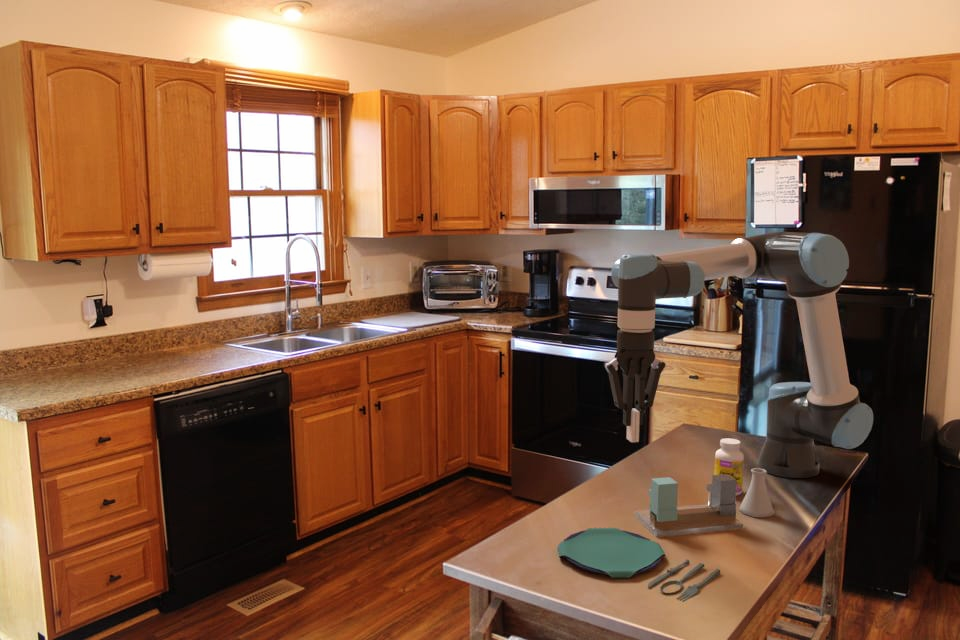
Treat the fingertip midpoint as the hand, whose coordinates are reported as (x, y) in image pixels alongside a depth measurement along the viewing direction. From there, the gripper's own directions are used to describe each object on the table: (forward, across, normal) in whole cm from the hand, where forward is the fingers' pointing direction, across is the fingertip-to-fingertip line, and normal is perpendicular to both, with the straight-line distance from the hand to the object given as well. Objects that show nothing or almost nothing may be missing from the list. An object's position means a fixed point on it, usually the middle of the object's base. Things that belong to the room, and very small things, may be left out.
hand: (632, 440), depth 170 cm
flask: (+21, -32, -4) cm, 39 cm away
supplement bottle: (+21, -32, -18) cm, 42 cm away
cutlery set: (+21, +5, +14) cm, 26 cm away
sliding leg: (+19, -8, -2) cm, 20 cm away
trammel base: (+20, -14, -2) cm, 25 cm away
